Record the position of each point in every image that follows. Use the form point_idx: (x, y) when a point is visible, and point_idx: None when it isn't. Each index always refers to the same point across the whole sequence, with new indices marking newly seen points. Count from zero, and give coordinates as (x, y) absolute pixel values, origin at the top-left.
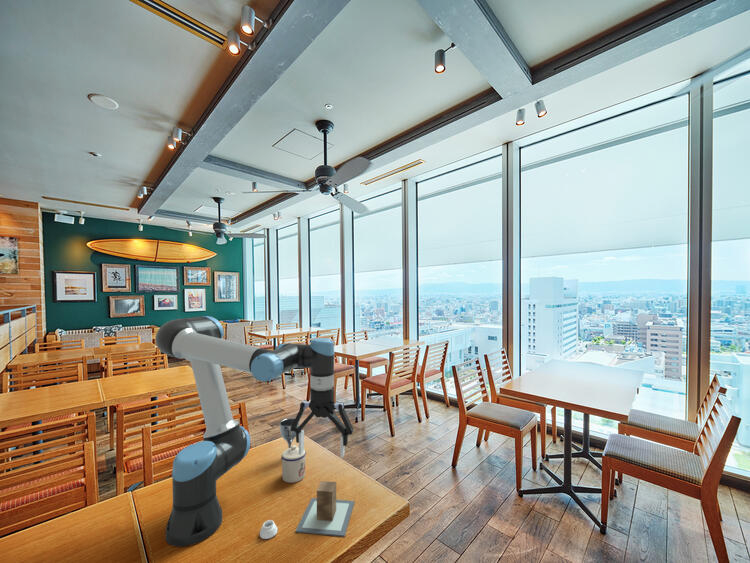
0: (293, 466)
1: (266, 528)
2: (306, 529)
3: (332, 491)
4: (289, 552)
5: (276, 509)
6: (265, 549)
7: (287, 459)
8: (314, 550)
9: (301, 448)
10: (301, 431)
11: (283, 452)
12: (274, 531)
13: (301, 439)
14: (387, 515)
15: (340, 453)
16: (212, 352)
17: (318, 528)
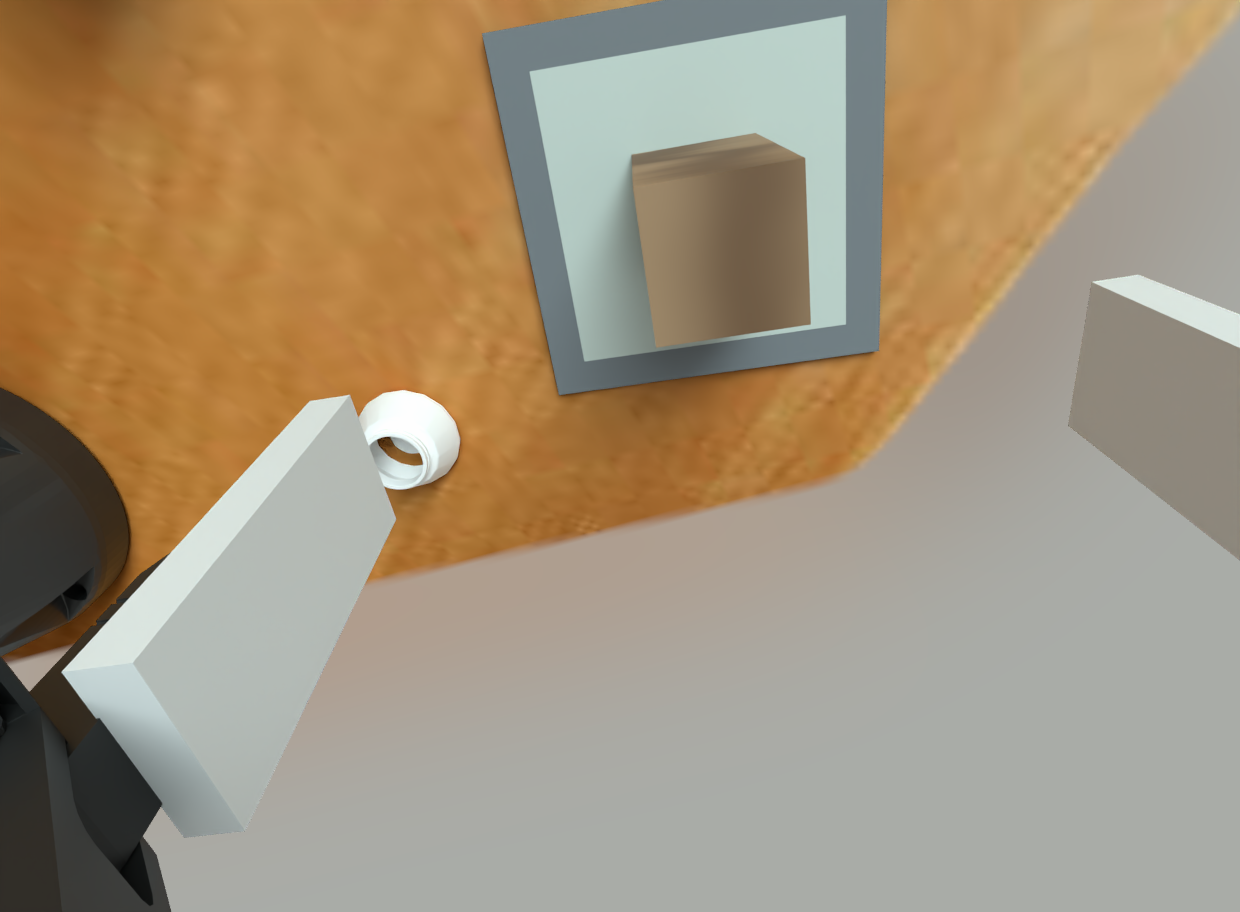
0: None
1: (407, 486)
2: (620, 369)
3: (810, 312)
4: (605, 510)
5: (296, 239)
6: (474, 523)
7: None
8: (729, 471)
9: (361, 552)
10: (125, 729)
11: None
12: (449, 450)
13: (295, 682)
14: (1190, 59)
15: (1113, 460)
16: None
17: (693, 344)
